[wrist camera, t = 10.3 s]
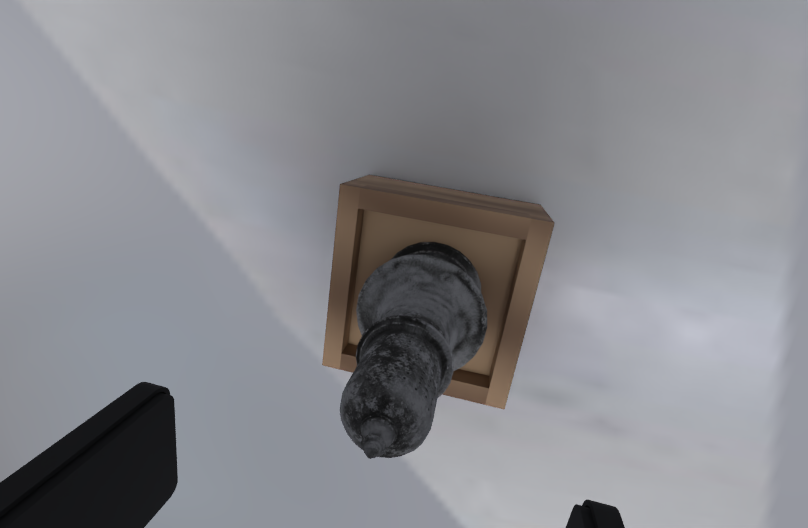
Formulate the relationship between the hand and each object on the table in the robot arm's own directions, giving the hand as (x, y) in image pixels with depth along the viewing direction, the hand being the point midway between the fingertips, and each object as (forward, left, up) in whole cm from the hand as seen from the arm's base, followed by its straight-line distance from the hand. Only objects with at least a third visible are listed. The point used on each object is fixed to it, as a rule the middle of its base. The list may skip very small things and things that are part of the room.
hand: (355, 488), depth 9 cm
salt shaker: (0, 0, -13) cm, 13 cm away
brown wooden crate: (0, 0, -17) cm, 17 cm away
